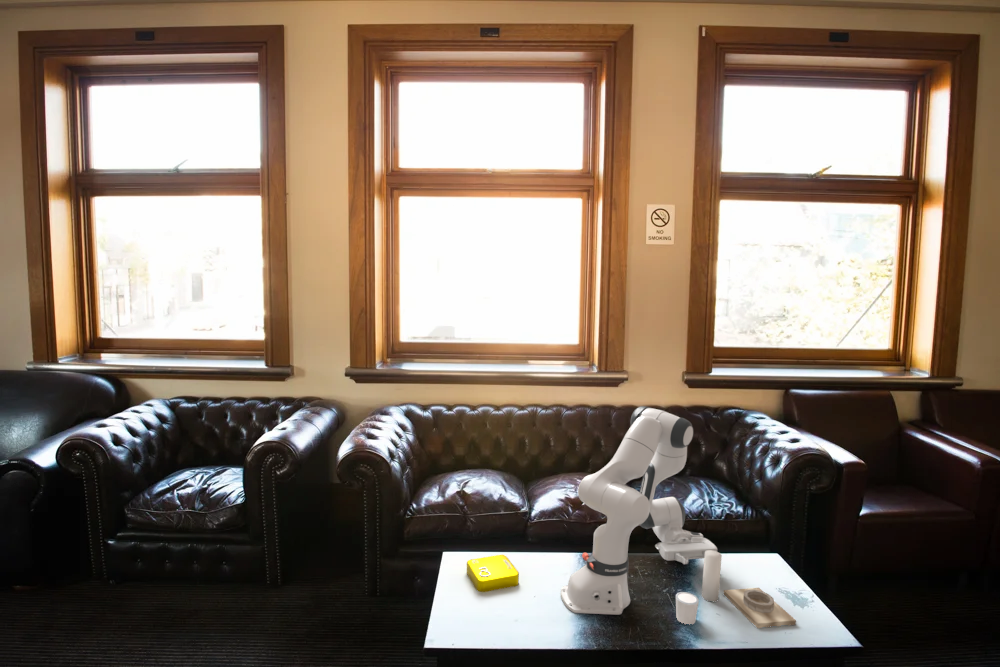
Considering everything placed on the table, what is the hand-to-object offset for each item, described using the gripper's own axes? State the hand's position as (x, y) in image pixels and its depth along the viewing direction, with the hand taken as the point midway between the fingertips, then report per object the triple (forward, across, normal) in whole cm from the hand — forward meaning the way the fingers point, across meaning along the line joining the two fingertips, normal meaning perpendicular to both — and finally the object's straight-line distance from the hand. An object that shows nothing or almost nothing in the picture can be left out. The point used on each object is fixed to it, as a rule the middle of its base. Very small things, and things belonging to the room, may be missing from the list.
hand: (699, 561), depth 188 cm
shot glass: (+18, -14, +9) cm, 24 cm away
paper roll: (+8, 0, +8) cm, 11 cm away
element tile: (-13, -70, +9) cm, 71 cm away
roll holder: (+16, +12, +8) cm, 21 cm away
